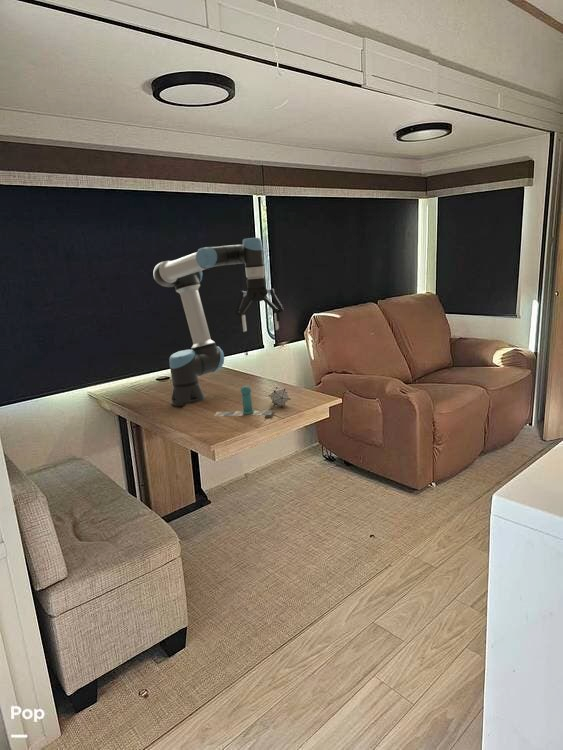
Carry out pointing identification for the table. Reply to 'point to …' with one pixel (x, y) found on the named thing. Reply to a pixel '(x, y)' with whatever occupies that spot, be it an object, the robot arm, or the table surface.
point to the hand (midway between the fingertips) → (261, 330)
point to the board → (239, 413)
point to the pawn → (246, 400)
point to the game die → (279, 397)
